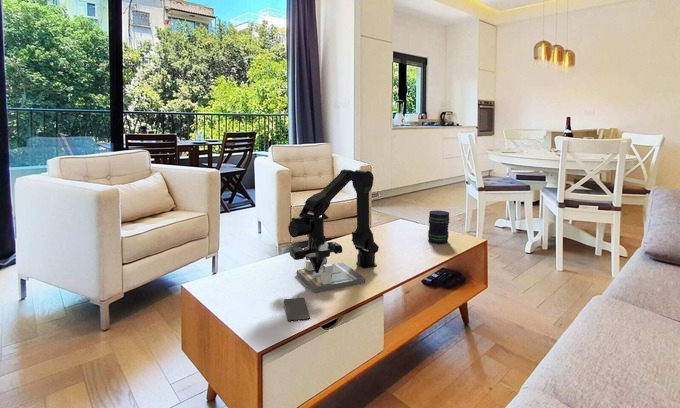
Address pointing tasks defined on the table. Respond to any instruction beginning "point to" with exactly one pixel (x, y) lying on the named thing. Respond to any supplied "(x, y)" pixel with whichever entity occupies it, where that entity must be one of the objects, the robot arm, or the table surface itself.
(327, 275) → the handle
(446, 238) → the storage jar
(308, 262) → the handle
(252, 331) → the table surface
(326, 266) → the handle middle
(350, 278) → the breaker panel
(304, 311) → the smartphone
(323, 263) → the electrical switch
